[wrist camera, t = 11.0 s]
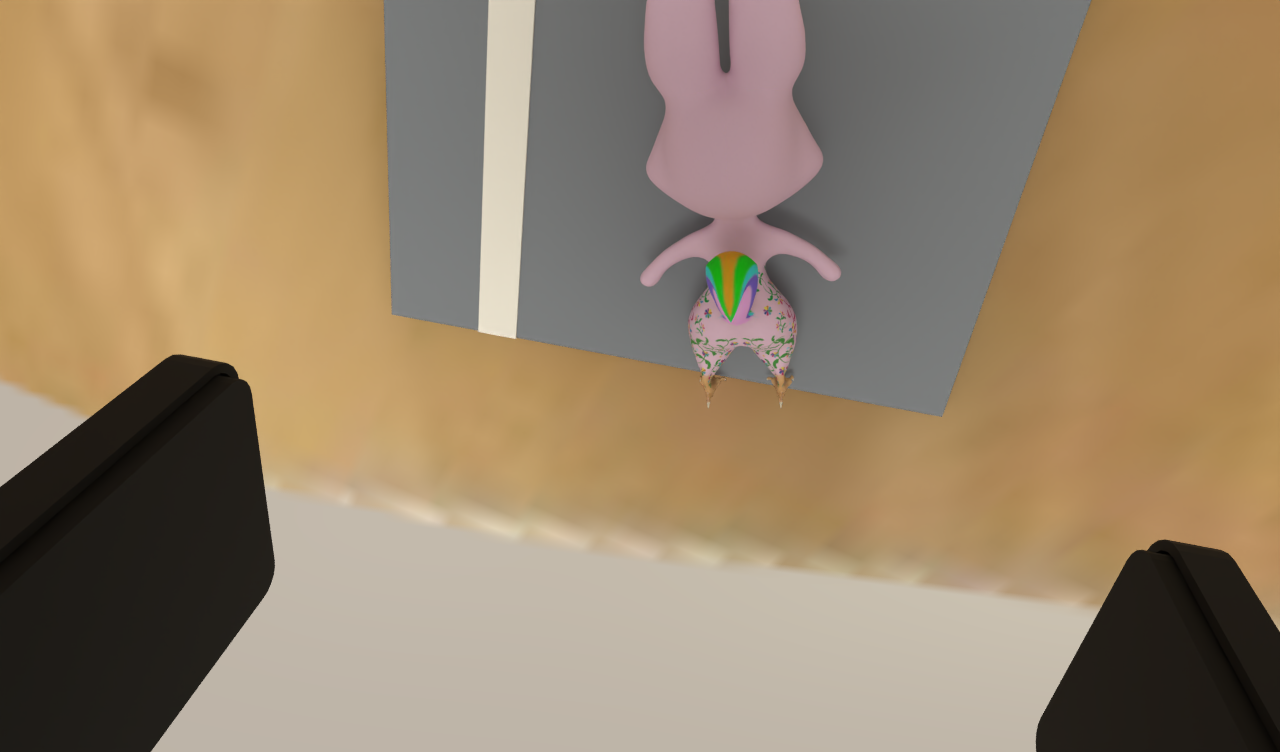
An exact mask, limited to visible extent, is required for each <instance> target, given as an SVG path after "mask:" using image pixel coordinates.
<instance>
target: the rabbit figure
mask: <svg viewBox="0 0 1280 752" xmlns="http://www.w3.org/2000/svg"><path fill="white" fill-rule="evenodd" d="M729 43H730V60H731V66H730V71H729V72H728V73H725V72H723V71H722V69H721V66H720V55H719V41H718V30H717V19H716V10H715V0H647V3H646V13H645V28H644V53H645V61H646V66H647V70H648V74H649V76H650V78H651V80H652V82H653V84H654V85H655V87H656V88H657V89H658V91H659V92H660V93H661V95H662V96H663V98H664V100H665V105H666V110H665V116H664V120H663V122H662V125H661V128H660V130H659V133H658V135H657V138H656V141H655V143H654V146H653V149H652V151H651V153H650V156H649V158H648V161H647V164H646V171H647V174H648V177H649V179H650V180H651V181H652V182H653V183H654V184H655V185H656V186H657V187H658V188H659V189H660V190H662V191H663V192H664V193H665V194H667V195H668V196H669V197H671V198H672V199H674V200H675V201H677V202H678V203H680V204H682V205H683V206H685V207H687V208H688V209H690V210H692V211H694V212H696V213H698V214H701V215H703V216H706V217H710V218H715V219H714V221H713V222H712V223H711V224H709V225H708V226H706V227H704V228H702V229H700V230H698V231H695V232H693V233H691V234H689V235H687V236H685V237H684V238H682V239H681V240H679V241H677V242H676V243H674V244H673V245H671V246H670V247H668V248H667V249H666V250H664V251H663V252H662V253H661V254H660V255H659V256H658V257H657V258H656V259H655V260H654V261H653V262H652V263H651V264H650V265H649V266H648V267H647V268H646V269H645V270H644V271H643V273H642V274H641V276H640V281H641V283H642V284H643V285H645V286H647V287H651V286H654V285H655V284H656V283H657V282H658V281H659V280H660V278H661V277H662V275H663V274H664V272H665V271H666V270H667V269H668V268H670V267H671V266H672V265H674V264H676V263H677V262H679V261H682V260H684V259H687V258H691V257H700V258H703V259H705V260H707V261H708V264H707V265H706V281H707V285H708V286H707V287H706V289H705V290H704V292H703V293H702V295H701V296H700V297H699V299H698V300H697V302H696V303H695V305H694V306H693V308H692V310H691V313H690V316H689V320H688V330H689V337H690V342H691V346H692V349H693V352H694V355H695V358H696V360H697V363H698V366H699V368H700V370H701V372H702V376H700V381H701V382H700V383H701V385H702V386H703V387H704V390H705V392H706V396H707V398H708V399H707V406H708V408H709V405H710V398H711V397H713V393H714V391H715V390H716V388H717V386H718V385H719V384H720V382H721V381H722V380H726V378H724V377H721V378H715V377H714V374H715V373H716V371H717V370H718V369H719V367H720V366H721V365H722V364H723V362H724V361H725V360H726V359H727V358H728V357H729V355H730V354H731V353H732V352H733V350H734V349H735V348H736V347H737V346H746V347H750V348H751V349H752V350H753V351H754V352H755V354H756V355H757V356H758V357H759V358H760V359H761V360H762V361H763V363H764V364H765V365H766V366H767V367H768V368H769V370H770V371H771V372H772V373H773V374H774V375H775V377H773V378H772V377H767V380H771V382H772V384H773V385H774V386H775V388H776V391H777V394H778V396H779V403H780V407H782V403H783V402H782V397H783V396H784V395H785V391H786V389H787V388H788V387H789V386H790V384H791V383H792V380H793V381H794V377H793V376H792V375H791V376H790V378H786V377H785V372H786V370H787V367H788V365H789V362H790V359H791V356H792V353H793V350H794V347H795V343H796V339H797V320H796V316H795V313H794V311H793V309H792V307H791V305H790V304H789V302H788V301H787V299H786V298H785V297H784V296H783V295H782V293H781V292H780V291H779V290H778V289H777V288H776V287H775V285H774V284H773V283H772V282H771V280H770V279H769V277H768V275H767V273H766V268H765V264H766V262H767V261H768V259H769V258H771V257H772V256H774V255H777V254H788V255H792V256H795V257H798V258H800V259H803V260H805V261H806V262H808V263H809V264H811V265H812V266H813V267H814V268H815V269H816V270H817V271H818V273H819V274H820V275H821V276H822V277H823V278H824V279H826V280H828V281H835V280H837V279H839V278H840V276H841V270H840V268H839V266H838V265H837V264H836V263H835V262H834V261H832V260H831V259H830V258H829V257H828V256H826V255H825V254H824V253H823V252H822V251H820V250H819V249H818V248H816V247H815V246H813V245H812V244H810V243H809V242H807V241H805V240H803V239H801V238H799V237H798V236H796V235H793V234H792V233H790V232H787V231H785V230H782V229H779V228H776V227H773V226H770V225H768V224H766V223H764V222H762V221H761V220H759V219H758V217H757V216H756V215H758V214H761V213H763V212H766V211H768V210H770V209H771V208H773V207H775V206H777V205H778V204H780V203H781V202H783V201H785V200H786V199H788V198H789V197H791V196H792V195H793V194H795V193H796V192H798V191H799V190H800V189H801V188H803V187H804V186H805V185H806V184H807V183H808V182H810V181H811V180H812V179H813V178H814V177H815V176H816V174H817V173H818V172H819V170H820V169H821V167H822V164H823V155H822V152H821V150H820V148H819V146H818V145H817V143H816V141H815V140H814V138H813V136H812V135H811V133H810V131H809V129H808V127H807V125H806V123H805V122H804V120H803V118H802V116H801V115H800V113H799V111H798V109H797V107H796V106H795V103H794V101H793V97H792V89H793V85H794V83H795V81H796V79H797V78H798V76H799V74H800V72H801V70H802V68H803V65H804V61H805V52H806V42H805V28H804V24H803V19H802V14H801V9H800V4H799V0H729Z"/></svg>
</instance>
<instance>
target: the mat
mask: <svg viewBox="0 0 1280 752" xmlns="http://www.w3.org/2000/svg"><path fill="white" fill-rule="evenodd" d="M1090 2H1091V0H799V4H800V9H801V14H802V19H803V24H804V28H805V42H806V52H805V61H804V65H803V68H802V70H801V72H800V74H799V76H798V78H797V79H796V81H795V83H794V85H793V89H792V97H793V101H794V103H795V106H796V107H797V109H798V111H799V113H800V115H801V116H802V118H803V120H804V122H805V123H806V125H807V127H808V129H809V131H810V133H811V135H812V136H813V138H814V140H815V141H816V143H817V145H818V146H819V148H820V150H821V152H822V155H823V164H822V167H821V169H820V170H819V172H818V173H817V174H816V176H815V177H814V178H813V179H812V180H811V181H810V182H808V183H807V184H806V185H805V186H804V187H803V188H801V189H800V190H799V191H798V192H796V193H795V194H793V195H792V196H791V197H789V198H788V199H786V200H785V201H783V202H781V203H780V204H778V205H777V206H775V207H773V208H771V209H770V210H768V211H766V212H763V213H761V214H758V215H756V216H757V217H758V219H759V220H761V221H762V222H764V223H766V224H768V225H770V226H773V227H776V228H779V229H782V230H785V231H787V232H790V233H792V234H793V235H796V236H798V237H799V238H801V239H803V240H805V241H807V242H809V243H810V244H812V245H813V246H815V247H816V248H818V249H819V250H820V251H822V252H823V253H824V254H825V255H826V256H828V257H829V258H830V259H831V260H832V261H834V262H835V263H836V264H837V265H838V266H839V268H840V270H841V276H840V278H839V279H837V280H835V281H828V280H826V279H824V278H823V277H822V276H821V275H820V274H819V273H818V271H817V270H816V269H815V268H814V267H813V266H812V265H811V264H809V263H808V262H806V261H805V260H803V259H800V258H798V257H795V256H792V255H788V254H777V255H774V256H772V257H771V258H769V259H768V261H767V262H766V264H765V268H766V273H767V275H768V277H769V279H770V280H771V282H772V283H773V284H774V285H775V287H776V288H777V289H778V290H779V291H780V292H781V293H782V295H783V296H784V297H785V298H786V299H787V301H788V302H789V304H790V305H791V307H792V309H793V311H794V313H795V316H796V320H797V339H796V343H795V347H794V350H793V353H792V356H791V359H790V362H789V365H788V367H787V370H786V372H785V377H786V378H790V376H791V375H792V376H793V377H794V381H793V380H792V383H791V384H790V386H789V387H788V388H790V389H795V390H801V391H806V392H812V393H817V394H822V395H828V396H833V397H838V398H844V399H849V400H855V401H860V402H865V403H871V404H876V405H881V406H887V407H892V408H898V409H903V410H908V411H914V412H919V413H924V414H930V415H935V416H941V417H942V415H943V412H944V410H945V407H946V404H947V401H948V399H949V396H950V393H951V390H952V387H953V385H954V382H955V379H956V376H957V373H958V371H959V368H960V365H961V362H962V359H963V357H964V354H965V351H966V348H967V346H968V343H969V340H970V337H971V334H972V332H973V329H974V326H975V323H976V320H977V318H978V315H979V312H980V309H981V306H982V304H983V301H984V298H985V295H986V293H987V290H988V287H989V284H990V281H991V279H992V276H993V273H994V270H995V267H996V265H997V262H998V259H999V256H1000V253H1001V251H1002V248H1003V245H1004V242H1005V240H1006V237H1007V234H1008V231H1009V228H1010V226H1011V223H1012V220H1013V217H1014V214H1015V212H1016V209H1017V206H1018V203H1019V200H1020V198H1021V195H1022V192H1023V189H1024V187H1025V184H1026V181H1027V178H1028V175H1029V173H1030V170H1031V167H1032V164H1033V161H1034V159H1035V156H1036V153H1037V150H1038V147H1039V145H1040V142H1041V139H1042V136H1043V134H1044V131H1045V128H1046V125H1047V122H1048V120H1049V117H1050V114H1051V111H1052V108H1053V106H1054V103H1055V100H1056V97H1057V94H1058V92H1059V89H1060V86H1061V83H1062V81H1063V78H1064V75H1065V72H1066V69H1067V67H1068V64H1069V61H1070V58H1071V55H1072V53H1073V50H1074V47H1075V44H1076V41H1077V39H1078V36H1079V33H1080V30H1081V28H1082V25H1083V22H1084V19H1085V16H1086V14H1087V11H1088V8H1089V5H1090ZM646 3H647V0H384V25H385V64H386V103H387V142H388V181H389V220H390V259H391V298H392V315H398V316H403V317H408V318H414V319H419V320H425V321H430V322H435V323H441V324H446V325H451V326H457V327H462V328H468V329H473V330H478V332H482V333H487V334H492V335H498V336H503V337H508V338H514V339H516V338H521V339H527V340H532V341H537V342H543V343H548V344H554V345H559V346H564V347H570V348H575V349H580V350H586V351H591V352H597V353H602V354H607V355H613V356H618V357H623V358H629V359H634V360H640V361H645V362H650V363H656V364H661V365H666V366H672V367H677V368H683V369H688V370H693V371H699V372H701V370H700V368H699V366H698V363H697V360H696V358H695V355H694V352H693V349H692V346H691V342H690V337H689V330H688V320H689V316H690V313H691V310H692V308H693V306H694V305H695V303H696V302H697V300H698V299H699V297H700V296H701V295H702V293H703V292H704V290H705V289H706V287H707V286H708V285H707V281H706V265H707V264H708V261H707V260H705V259H703V258H700V257H691V258H687V259H684V260H682V261H679V262H677V263H676V264H674V265H672V266H671V267H670V268H668V269H667V270H666V271H665V272H664V274H663V275H662V277H661V278H660V280H659V281H658V282H657V283H656V284H655V285H654V286H651V287H647V286H645V285H643V284H642V283H641V281H640V276H641V274H642V273H643V271H644V270H645V269H646V268H647V267H648V266H649V265H650V264H651V263H652V262H653V261H654V260H655V259H656V258H657V257H658V256H659V255H660V254H661V253H662V252H663V251H664V250H666V249H667V248H668V247H670V246H671V245H673V244H674V243H676V242H677V241H679V240H681V239H682V238H684V237H685V236H687V235H689V234H691V233H693V232H695V231H698V230H700V229H702V228H704V227H706V226H708V225H709V224H711V223H712V222H713V221H714V219H715V218H710V217H706V216H703V215H701V214H698V213H696V212H694V211H692V210H690V209H688V208H687V207H685V206H683V205H682V204H680V203H678V202H677V201H675V200H674V199H672V198H671V197H669V196H668V195H667V194H665V193H664V192H663V191H662V190H660V189H659V188H658V187H657V186H656V185H655V184H654V183H653V182H652V181H651V180H650V179H649V177H648V174H647V171H646V164H647V161H648V158H649V156H650V153H651V151H652V149H653V146H654V143H655V141H656V138H657V135H658V133H659V130H660V128H661V125H662V122H663V120H664V116H665V110H666V105H665V100H664V98H663V96H662V95H661V93H660V92H659V91H658V89H657V88H656V87H655V85H654V84H653V82H652V80H651V78H650V76H649V74H648V70H647V66H646V61H645V53H644V28H645V13H646ZM715 10H716V19H717V30H718V41H719V55H720V66H721V69H722V71H723V72H725V73H728V72H729V71H730V66H731V60H730V43H729V0H715ZM715 375H720V376H726V377H731V378H736V379H742V380H747V381H752V382H758V383H763V384H769V385H773V384H772V382H771V380H767V377H772V378H773V377H775V375H774V374H773V373H772V372H771V371H770V370H769V368H768V367H767V366H766V365H765V364H764V363H763V361H762V360H761V359H760V358H759V357H758V356H757V355H756V354H755V352H754V351H753V350H752V349H751V348H750V347H746V346H737V347H736V348H735V349H734V350H733V352H732V353H731V354H730V355H729V357H728V358H727V359H726V360H725V361H724V362H723V364H722V365H721V366H720V367H719V369H718V370H717V371H716V373H715Z"/></svg>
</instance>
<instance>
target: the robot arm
mask: <svg viewBox="0 0 1280 752" xmlns="http://www.w3.org/2000/svg"><path fill="white" fill-rule="evenodd" d="M274 561H275V560H274V553H273V546H272V539H271V531H270V524H269V516H268V509H267V502H266V494H265V487H264V480H263V473H262V465H261V458H260V451H259V443H258V436H257V429H256V421H255V414H254V407H253V399H252V393H251V389H250V386H249V385H248V383H247V382H246V381H244V380H241V379H239V377H238V374H237V372H236V370H235V369H234V367H233V366H231V365H229V364H228V363H223V362H218V361H213V360H207V359H202V358H197V357H191V356H186V355H181V354H180V355H172V356H170V357H168V358H166V359H165V360H163V361H162V362H161V363H159V364H158V365H157V366H156V367H154V368H153V369H152V370H150V371H149V372H148V373H147V374H145V375H144V376H143V377H141V378H140V379H139V380H138V381H136V382H135V383H134V384H132V385H131V386H130V387H129V388H127V389H126V390H125V391H123V392H122V393H121V394H120V395H118V396H117V397H116V398H114V399H113V400H112V401H111V402H109V403H108V404H107V405H105V406H104V407H103V408H102V409H100V410H99V411H98V412H96V413H95V414H94V415H92V416H91V417H90V418H89V419H87V420H86V421H85V422H84V423H82V424H81V425H80V426H78V427H77V428H76V429H74V430H73V431H72V432H71V433H69V434H68V435H67V436H65V437H64V438H63V439H62V440H60V441H59V442H58V443H57V444H55V445H54V446H53V447H51V448H50V449H49V450H48V451H46V452H45V453H44V454H42V455H41V456H40V457H39V458H37V459H36V460H35V461H33V462H32V463H31V464H30V465H28V466H27V467H26V468H24V469H23V470H22V471H20V472H19V473H18V474H17V475H15V476H14V477H13V478H11V479H10V480H9V481H8V482H7V483H5V484H4V485H2V486H1V487H0V752H151V751H152V749H153V748H154V747H155V745H156V744H157V742H158V741H159V740H160V738H161V737H162V736H163V734H164V733H165V732H166V730H167V729H168V727H169V726H170V725H171V723H172V722H173V721H174V719H175V718H176V717H177V715H178V714H179V712H180V711H181V710H182V708H183V707H184V706H185V704H186V703H187V702H188V700H189V699H190V697H191V696H192V695H193V693H194V692H195V690H196V689H197V688H198V686H199V685H200V684H201V682H202V681H203V679H204V678H205V677H206V675H207V674H208V673H209V671H210V670H211V669H212V667H213V666H214V665H215V663H216V662H217V661H218V659H219V658H220V656H221V655H222V654H223V652H224V651H225V649H226V648H227V647H228V646H229V644H230V642H231V641H232V640H233V639H234V637H235V636H236V635H237V633H238V632H239V631H240V629H241V628H242V626H243V625H244V624H245V622H246V621H247V620H248V618H249V617H250V615H251V614H252V613H253V611H254V610H255V609H256V607H257V606H258V605H259V603H260V602H261V600H262V599H263V598H264V596H265V595H266V593H267V591H268V589H269V587H270V585H271V582H272V578H273V575H274V568H275V562H274ZM1036 752H1280V632H1279V630H1278V628H1277V627H1276V625H1275V624H1274V622H1273V621H1272V619H1271V617H1270V616H1269V614H1268V613H1267V611H1266V609H1265V608H1264V606H1263V605H1262V603H1261V601H1260V600H1259V598H1258V597H1257V595H1256V594H1255V592H1254V590H1253V589H1252V587H1251V586H1250V584H1249V582H1248V581H1247V579H1246V578H1245V576H1244V574H1243V573H1242V571H1241V570H1240V568H1239V566H1238V565H1237V563H1236V562H1235V560H1234V559H1233V558H1232V557H1231V556H1230V555H1229V554H1228V553H1226V552H1224V551H1222V550H1218V549H1213V548H1207V547H1202V546H1197V545H1191V544H1186V543H1181V542H1175V541H1170V540H1158V541H1157V542H1155V543H1154V544H1152V545H1151V546H1150V548H1149V549H1148V550H1147V551H1145V550H1137V551H1135V552H1134V553H1132V554H1131V556H1130V557H1129V558H1128V560H1127V561H1126V563H1125V565H1124V567H1123V569H1122V571H1121V572H1120V574H1119V576H1118V578H1117V580H1116V582H1115V583H1114V585H1113V587H1112V589H1111V591H1110V592H1109V594H1108V596H1107V598H1106V600H1105V602H1104V603H1103V605H1102V607H1101V609H1100V611H1099V613H1098V614H1097V616H1096V618H1095V620H1094V622H1093V624H1092V625H1091V627H1090V629H1089V631H1088V633H1087V635H1086V636H1085V638H1084V640H1083V642H1082V644H1081V645H1080V647H1079V649H1078V651H1077V653H1076V655H1075V656H1074V658H1073V660H1072V662H1071V664H1070V666H1069V667H1068V669H1067V671H1066V673H1065V675H1064V677H1063V678H1062V680H1061V682H1060V684H1059V686H1058V687H1057V689H1056V691H1055V693H1054V695H1053V697H1052V698H1051V700H1050V702H1049V704H1048V706H1047V708H1046V709H1045V711H1044V713H1043V715H1042V717H1041V719H1040V721H1039V724H1038V728H1037V733H1036Z"/></svg>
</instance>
